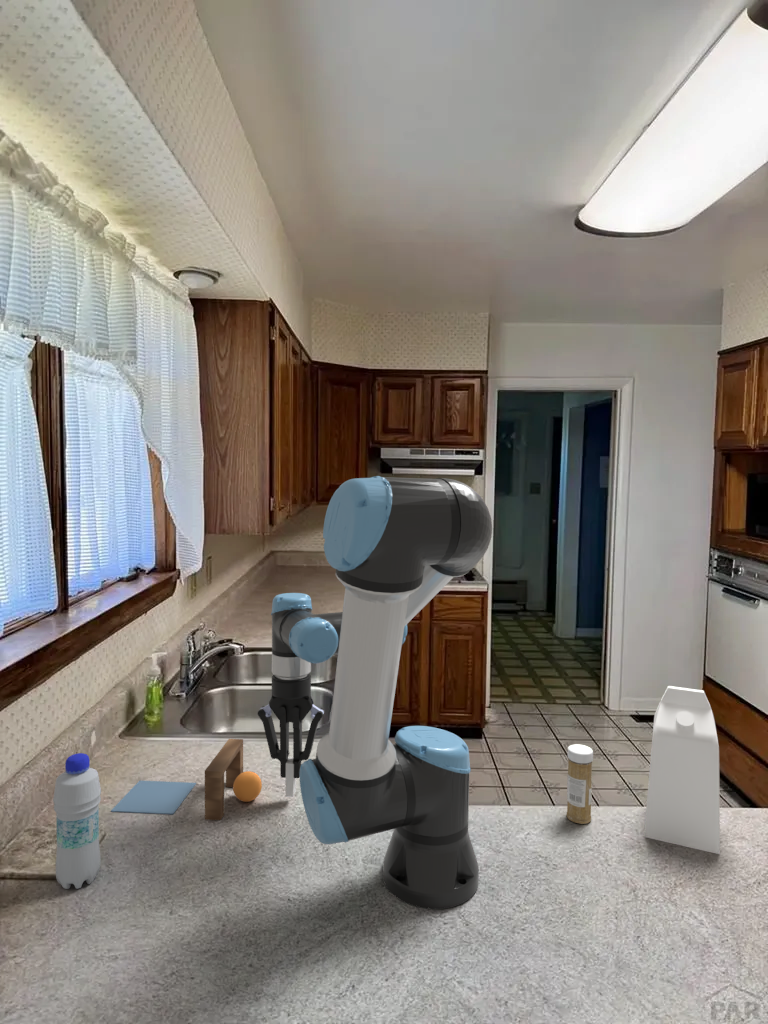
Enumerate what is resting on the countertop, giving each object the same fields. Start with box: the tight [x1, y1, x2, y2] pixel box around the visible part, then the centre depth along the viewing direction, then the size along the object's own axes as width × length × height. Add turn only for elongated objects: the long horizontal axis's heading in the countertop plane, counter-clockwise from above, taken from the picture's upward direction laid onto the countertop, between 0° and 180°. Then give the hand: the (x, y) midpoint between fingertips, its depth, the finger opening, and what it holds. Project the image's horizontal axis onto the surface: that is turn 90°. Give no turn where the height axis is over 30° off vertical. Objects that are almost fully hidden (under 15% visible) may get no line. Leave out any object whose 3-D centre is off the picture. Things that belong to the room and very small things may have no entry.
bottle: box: [52, 752, 102, 890], centre depth 98 cm, size 7×7×20 cm
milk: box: [643, 685, 721, 855], centre depth 114 cm, size 12×12×26 cm
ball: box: [232, 770, 263, 803], centre depth 123 cm, size 6×6×6 cm
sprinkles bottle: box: [566, 743, 594, 825], centre depth 118 cm, size 5×5×13 cm
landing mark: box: [110, 779, 197, 815], centre depth 124 cm, size 12×12×1 cm
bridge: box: [204, 738, 244, 821], centre depth 123 cm, size 3×14×9 cm, turn 176°
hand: (290, 793), depth 122 cm, fingers closed
